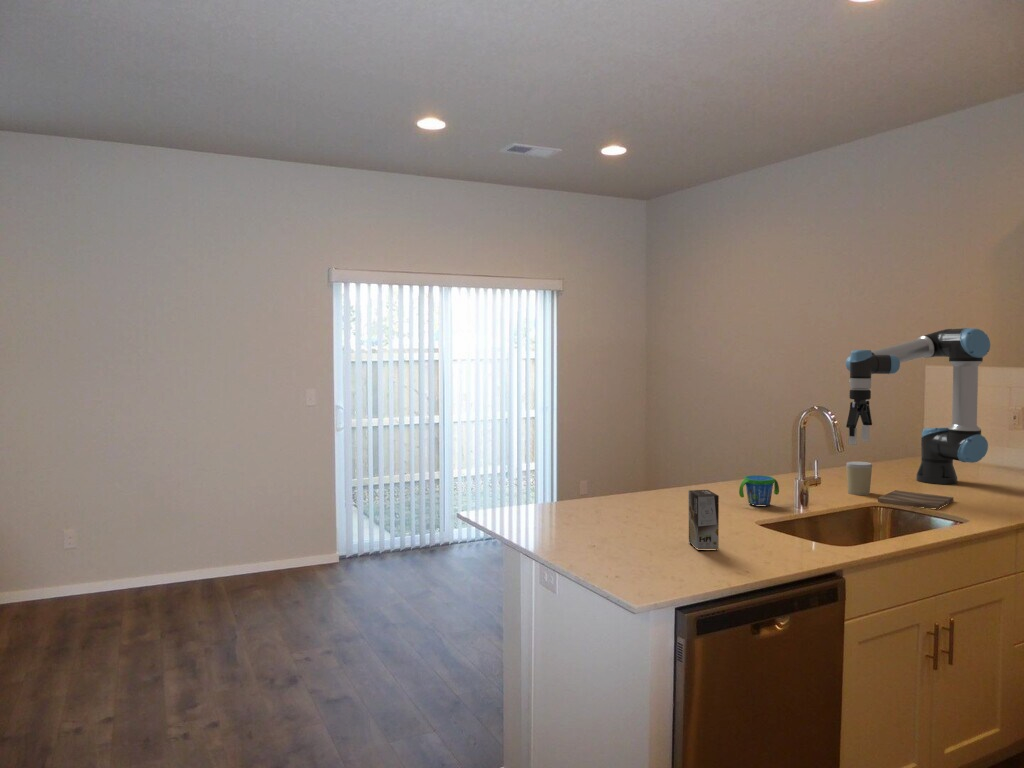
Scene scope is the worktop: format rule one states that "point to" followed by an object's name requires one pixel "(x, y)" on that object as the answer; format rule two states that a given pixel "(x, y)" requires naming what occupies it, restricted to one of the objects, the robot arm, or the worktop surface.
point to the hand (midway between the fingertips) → (859, 443)
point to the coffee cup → (859, 477)
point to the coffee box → (703, 519)
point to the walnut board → (915, 499)
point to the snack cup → (759, 489)
